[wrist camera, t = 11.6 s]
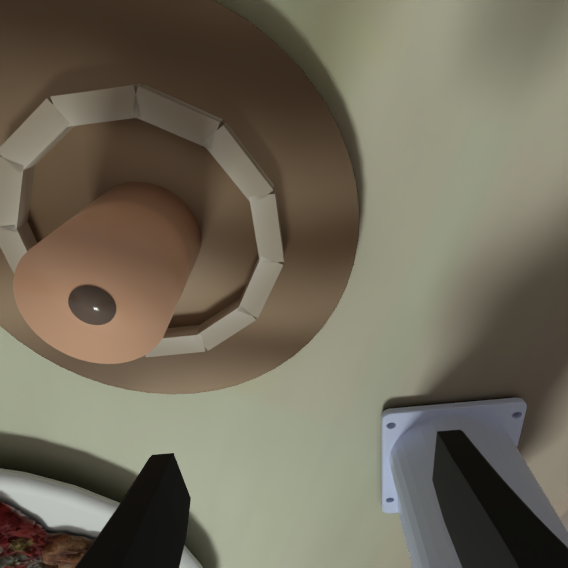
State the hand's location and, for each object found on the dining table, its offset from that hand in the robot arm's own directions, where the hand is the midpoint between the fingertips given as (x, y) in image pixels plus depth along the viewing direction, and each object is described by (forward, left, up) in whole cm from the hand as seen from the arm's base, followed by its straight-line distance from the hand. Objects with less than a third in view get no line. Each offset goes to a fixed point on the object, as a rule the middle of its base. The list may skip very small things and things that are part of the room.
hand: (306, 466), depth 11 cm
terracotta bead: (+4, +6, -9) cm, 11 cm away
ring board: (+4, +6, -9) cm, 12 cm away
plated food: (-23, +24, -10) cm, 35 cm away
